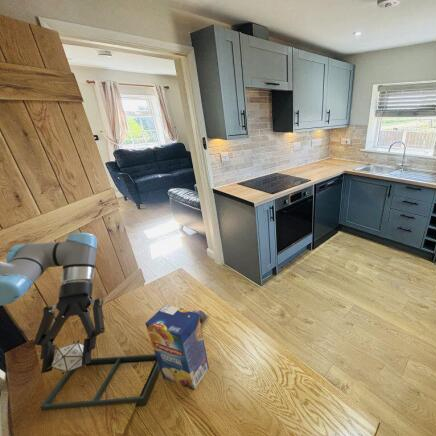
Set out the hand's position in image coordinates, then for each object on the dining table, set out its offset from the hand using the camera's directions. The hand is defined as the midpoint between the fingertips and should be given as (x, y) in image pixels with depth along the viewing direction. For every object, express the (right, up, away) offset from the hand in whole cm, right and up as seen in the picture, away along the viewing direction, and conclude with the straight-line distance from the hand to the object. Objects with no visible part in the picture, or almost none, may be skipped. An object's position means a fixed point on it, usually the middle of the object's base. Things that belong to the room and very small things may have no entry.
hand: (66, 367), depth 65 cm
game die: (-1, -2, +4) cm, 5 cm away
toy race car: (+18, -2, +30) cm, 35 cm away
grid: (+5, -11, +9) cm, 15 cm away
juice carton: (+27, -10, +13) cm, 31 cm away
